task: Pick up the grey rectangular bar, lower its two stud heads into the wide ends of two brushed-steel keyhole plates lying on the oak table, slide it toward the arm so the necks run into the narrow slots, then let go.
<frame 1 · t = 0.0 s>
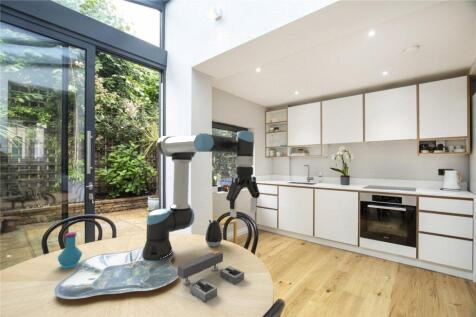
hand: (243, 214, 97), 28 cm above the table, fingers open, 13 cm apart
grey rectangular bar: (201, 276, 97), on the table
perfume bottle: (69, 265, 105), on the table
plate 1: (203, 294, 84), on the table
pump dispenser: (213, 245, 133), on the table
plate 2: (231, 278, 96), on the table
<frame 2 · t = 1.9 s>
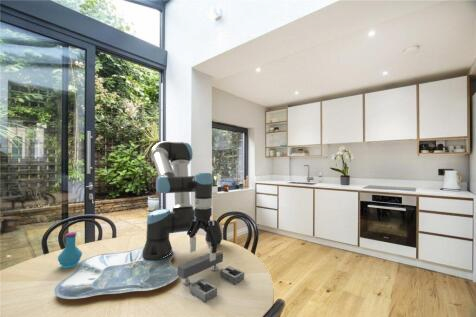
hand: (202, 255, 97), 9 cm above the table, fingers open, 13 cm apart
nothing on the table moved.
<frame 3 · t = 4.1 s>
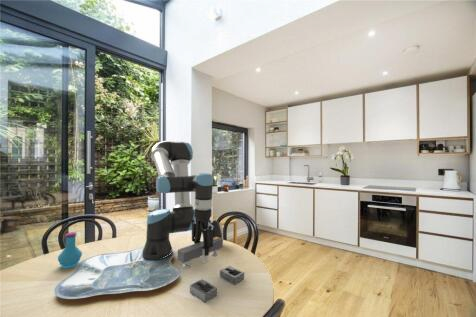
hand: (201, 260, 98), 7 cm above the table, fingers closed on grey rectangular bar, 4 cm apart
grey rectangular bar: (201, 260, 98), point 6 cm above the table, touching gripper
everything else where it was.
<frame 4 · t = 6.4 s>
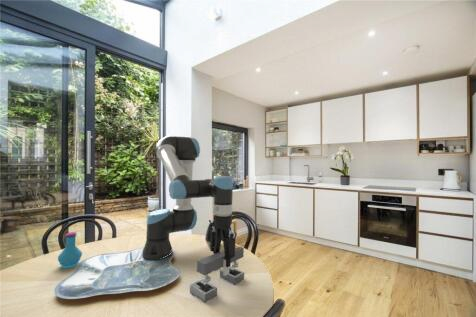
hand: (221, 271, 89), 6 cm above the table, fingers closed on grey rectangular bar, 4 cm apart
grey rectangular bar: (221, 272, 89), point 6 cm above the table, touching gripper
everything else where it was.
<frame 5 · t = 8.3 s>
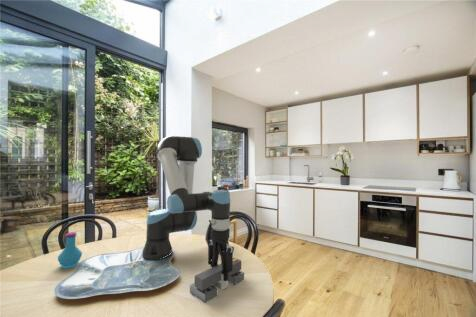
hand: (219, 285, 90), 0 cm above the table, fingers closed on grey rectangular bar, 4 cm apart
grey rectangular bar: (219, 286, 90), on the table, touching gripper
everything else where it was.
when the fingers open (0 cm above the table, at t = 9.1 s): grey rectangular bar stays where it is, on the table.
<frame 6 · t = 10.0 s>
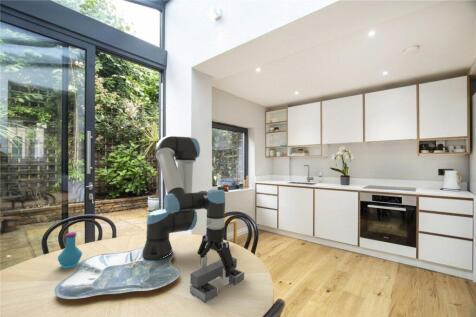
hand: (214, 277, 92), 2 cm above the table, fingers open, 13 cm apart
grey rectangular bar: (214, 283, 91), on the table
everything else where it was.
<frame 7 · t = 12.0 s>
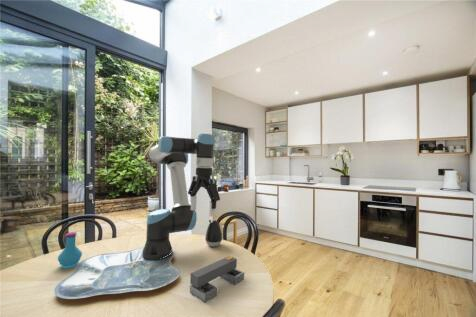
hand: (202, 212, 102), 27 cm above the table, fingers open, 13 cm apart
nothing on the table moved.
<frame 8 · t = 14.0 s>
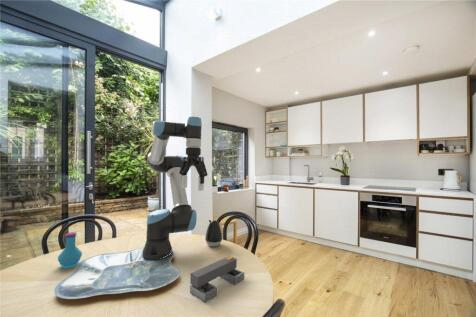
hand: (192, 189, 111), 37 cm above the table, fingers open, 13 cm apart
nothing on the table moved.
at the end: grey rectangular bar 0.5 cm from the target spot, on the table; grey rectangular bar tilted 0°; the gripper is holding nothing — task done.
